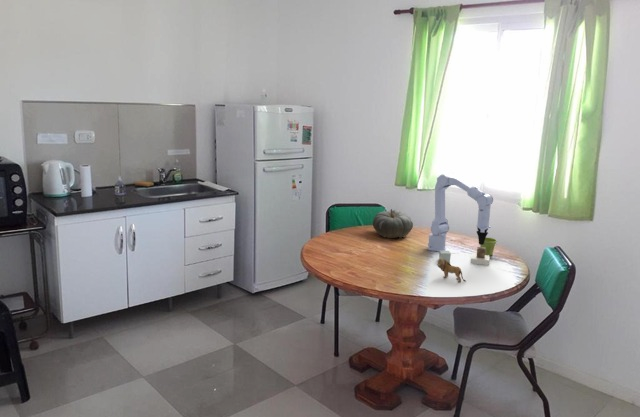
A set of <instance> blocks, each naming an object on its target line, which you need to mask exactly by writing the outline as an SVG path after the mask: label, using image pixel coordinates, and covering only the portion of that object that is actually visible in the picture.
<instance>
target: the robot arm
mask: <svg viewBox="0 0 640 417" xmlns="http://www.w3.org/2000/svg"><path fill="white" fill-rule="evenodd" d="M451 186H456V187H458V188H460V189H461V190H463V191H465V192H466V193H467V196H468V197H470V198H471V199H473V201H475V202H476V203H477V205H478V213H477V221H476V222H477V223H476V228H477V229H476V234H477V238H478V245H479V246H480V245H483V244H484V241H485V238H486V237H487V236H488V234H489V232H488V230H489V229H491V228H492V226H491V225H490V216H491V214H490V213H491V205H492V204H493V202H494V197H493V196H492V195H491V194H489V193H486V192H485V191H482V190H480V189H479V187H478V186H471V185H470V184H468V183H467V182H465V181H464V180H462V179H461V178H460V177H459V175H456V174H455V173H453V172H452V173H450V172H449V173H444V174H443V173H442V174H440V175H439V176H438V177H437V178H436V183H435V186H434V219H433V220H432V221H431V226H430V232H431V233H429V234H428V244H427V246H428V247H427V250H428V251H433V252H439V251H447V247H446V242H447V241H446V240H447V233H448V232H449V230H450V225H449V223H448V222H449V221H448V219H447V218H446V190H447V189H448V188H449V187H451Z"/></svg>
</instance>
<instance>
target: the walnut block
mask: <svg viewBox="0 0 640 417" xmlns="http://www.w3.org/2000/svg"><path fill="white" fill-rule="evenodd" d="M476 254H477V258H483V259H485V247H480V246H477V250H476Z"/></svg>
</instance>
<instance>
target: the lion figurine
mask: <svg viewBox="0 0 640 417" xmlns="http://www.w3.org/2000/svg"><path fill="white" fill-rule="evenodd" d="M436 266H437V268H439V269H440V270H441V271H442V272H443V273H444V276H443V277H442V278H443V279H447V277H448V276H449V273H450V274H454V275H455V277H456V278H455V279H456V280H457V283H459V284H460V283H461V282H462V280H463V282H467V280H465V279H464V277H463V271H462V269H461V268H460V266H456V265H455V266H453V265H451V262H450V263H449V262H447V261H446V260H444V259H439V258H438V261H437V264H436Z"/></svg>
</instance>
